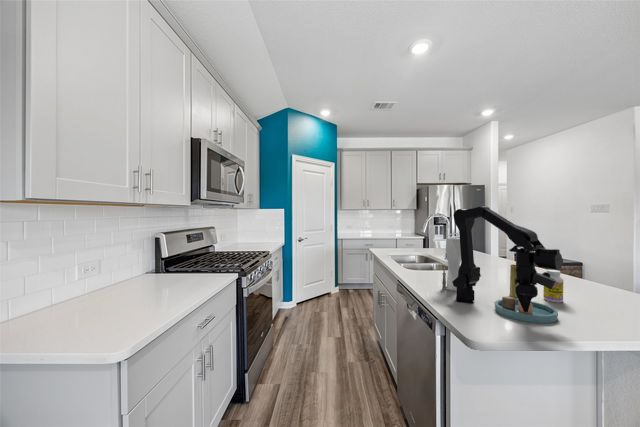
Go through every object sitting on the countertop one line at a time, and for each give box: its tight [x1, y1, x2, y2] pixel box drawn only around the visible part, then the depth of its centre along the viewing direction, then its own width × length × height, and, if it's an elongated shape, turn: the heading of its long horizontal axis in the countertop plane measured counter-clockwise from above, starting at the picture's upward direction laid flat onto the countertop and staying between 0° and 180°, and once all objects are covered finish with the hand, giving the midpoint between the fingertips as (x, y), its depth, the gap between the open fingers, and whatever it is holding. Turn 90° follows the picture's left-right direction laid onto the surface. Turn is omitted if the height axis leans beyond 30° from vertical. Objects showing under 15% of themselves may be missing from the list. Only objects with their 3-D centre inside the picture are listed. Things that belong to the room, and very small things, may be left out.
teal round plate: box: [494, 298, 559, 324], centre depth 110 cm, size 19×19×2 cm
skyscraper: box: [441, 232, 461, 293], centre depth 144 cm, size 8×8×28 cm
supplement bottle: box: [543, 269, 564, 303], centre depth 125 cm, size 7×7×13 cm
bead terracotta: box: [518, 302, 533, 315], centre depth 106 cm, size 4×4×4 cm
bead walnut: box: [501, 296, 516, 312], centre depth 112 cm, size 4×4×4 cm
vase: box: [508, 263, 518, 299], centre depth 131 cm, size 6×6×14 cm
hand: (525, 308), depth 106 cm, fingers open, 9 cm apart
